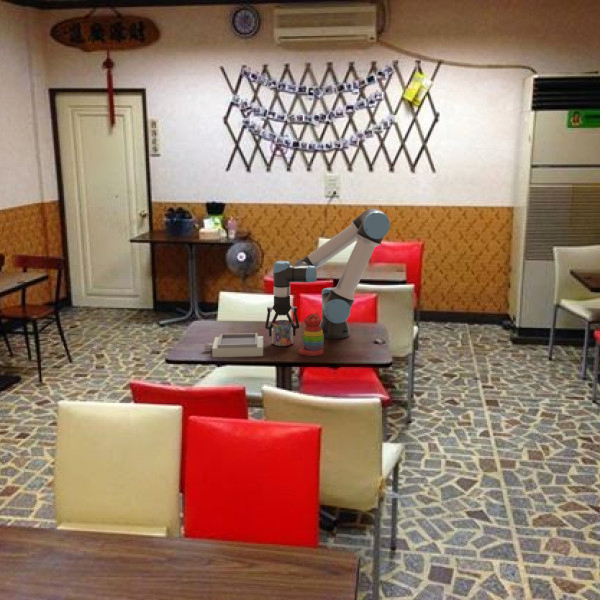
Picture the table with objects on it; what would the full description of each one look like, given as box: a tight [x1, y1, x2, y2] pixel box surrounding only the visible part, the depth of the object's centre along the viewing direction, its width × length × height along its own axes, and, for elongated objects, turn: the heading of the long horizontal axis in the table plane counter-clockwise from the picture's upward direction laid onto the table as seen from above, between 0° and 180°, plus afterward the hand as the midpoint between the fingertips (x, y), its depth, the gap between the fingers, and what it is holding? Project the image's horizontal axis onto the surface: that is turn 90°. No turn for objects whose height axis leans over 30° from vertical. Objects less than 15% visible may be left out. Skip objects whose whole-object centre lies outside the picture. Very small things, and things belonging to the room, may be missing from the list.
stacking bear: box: [297, 312, 325, 356], centre depth 294 cm, size 11×10×18 cm
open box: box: [204, 332, 264, 358], centre depth 299 cm, size 26×17×6 cm, turn 93°
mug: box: [272, 319, 292, 347], centre depth 308 cm, size 12×9×11 cm
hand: (282, 342), depth 309 cm, fingers closed on mug, 8 cm apart
